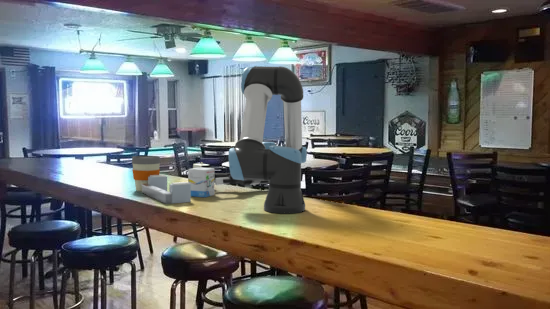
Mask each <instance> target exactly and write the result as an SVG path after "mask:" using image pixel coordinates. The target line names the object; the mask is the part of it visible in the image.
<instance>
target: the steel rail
mask: <svg viewBox="0 0 550 309" xmlns="http://www.w3.org/2000/svg"><path fill="white" fill-rule="evenodd" d="M141 185H142V191H141V193H142V194H143V193H144V194H143V195H145V194H146V195H145V196H148V197H150V198H152V199H154V200H156V201H158V202H161V203H163V204H165V205H167V204H168V205H169V204H173V203H172V193H170V192H169V191H168V190H167V191H165V190H163V189H160V188H158V187H155V186H153V185H150V184H141Z"/></svg>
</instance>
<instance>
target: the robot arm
mask: <svg viewBox="0 0 550 309" xmlns="http://www.w3.org/2000/svg"><path fill="white" fill-rule="evenodd" d="M240 89H241V90H240V91H241V93H242V95H244V98H245V99H246V102H245V108H244V113H243V114H244V115H243V119H242V120H243V121H242V127H241V132H240V138H239V140H237V141H236V142H235V144H234V147H232V148H229V150H228V167H229V168H228V169H229V172H225V173H221V172H220V173H219V172H218V173H216V172H214V186H215V185H216V186H219V185H229V184H231V185H232V184H233V185H238V184H240V185H241V186H252V185H253V187H255V186H256V185H266V184H268V190H267V193H266V196H265V200H264V203H263V210H264V211H266V212H269V213H273V214H274V213H275V214H298V213H303V212H305V211H306V203H305V199H304V196H303V192H302V189H301V187H302V164H305V163H306V162H307V156H308V155H307V154H308V150H307V146H303V128H302V127H303V126H302V123H303V122H302V100H304V88H303V85H302V82H301V80H300V79H299V77H298V76H297V74H296V73H294V71H293V70H291V69H290V68H288V67H286V66H262V65H261V66H257V65H254V66H247V67H245V69H244V70H243V72H242V75H241V81H240ZM273 96H280V100H281V101H282V102H283V117H284V137H285V138H284V140H285V141H284V143H285V146H282V145H276V143H275V141H264V134H265V133H264V132H265V124H266V117H267V110H268V103H269V102H270V101H271V100H272V99H273ZM304 210H305V211H304ZM302 211H303V212H302Z"/></svg>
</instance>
